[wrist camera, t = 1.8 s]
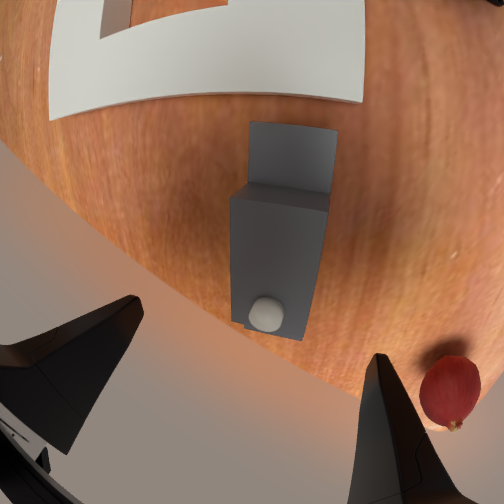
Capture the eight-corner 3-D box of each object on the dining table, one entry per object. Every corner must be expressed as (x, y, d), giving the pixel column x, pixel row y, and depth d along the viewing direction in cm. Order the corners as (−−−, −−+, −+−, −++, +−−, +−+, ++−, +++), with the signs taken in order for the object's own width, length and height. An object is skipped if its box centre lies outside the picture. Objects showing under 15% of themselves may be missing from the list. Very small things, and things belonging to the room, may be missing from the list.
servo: (268, 119, 14) (222, 126, 9) (337, 126, 14) (338, 137, 8) (258, 296, 21) (227, 363, 16) (309, 306, 20) (292, 379, 15)
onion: (473, 360, 18) (487, 429, 11) (423, 382, 21) (428, 451, 14) (466, 326, 17) (489, 404, 10) (409, 352, 20) (415, 433, 13)
